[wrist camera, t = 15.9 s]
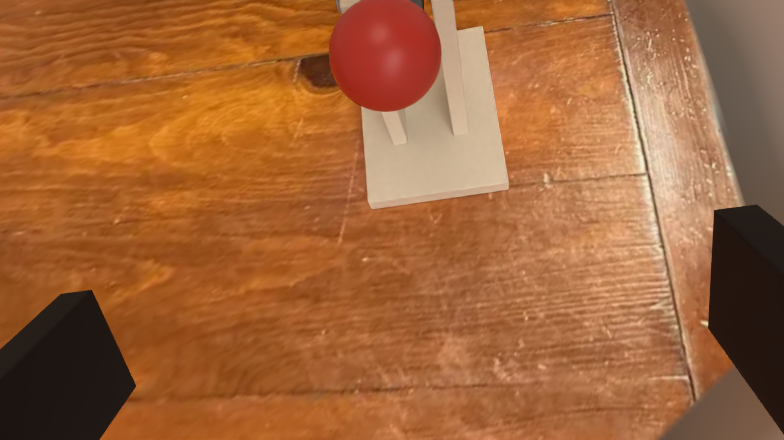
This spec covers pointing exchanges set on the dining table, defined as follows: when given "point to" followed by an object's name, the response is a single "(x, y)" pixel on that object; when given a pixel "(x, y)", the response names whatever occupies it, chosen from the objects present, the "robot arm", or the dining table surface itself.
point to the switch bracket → (438, 128)
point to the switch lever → (385, 53)
